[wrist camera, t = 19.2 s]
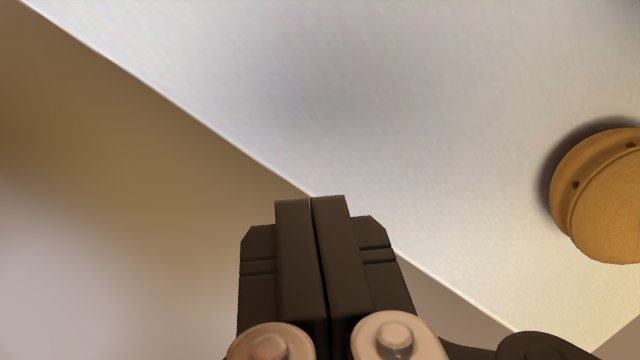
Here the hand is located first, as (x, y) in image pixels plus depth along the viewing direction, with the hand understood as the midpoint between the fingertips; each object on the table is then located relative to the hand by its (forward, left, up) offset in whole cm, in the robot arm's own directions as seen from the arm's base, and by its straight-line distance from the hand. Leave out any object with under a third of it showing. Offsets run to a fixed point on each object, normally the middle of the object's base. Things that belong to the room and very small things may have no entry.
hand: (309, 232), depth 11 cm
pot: (-29, +18, -31) cm, 46 cm away
